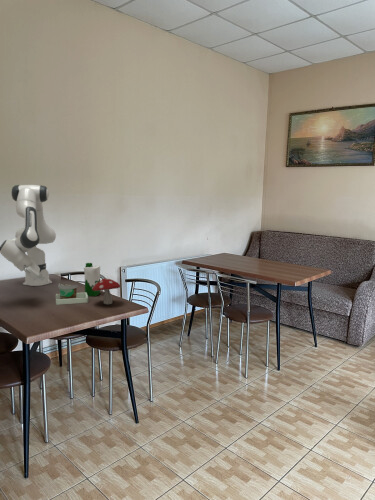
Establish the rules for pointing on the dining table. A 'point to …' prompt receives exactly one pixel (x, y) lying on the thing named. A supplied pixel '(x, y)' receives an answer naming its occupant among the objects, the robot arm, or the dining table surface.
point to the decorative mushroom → (106, 288)
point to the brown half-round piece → (67, 291)
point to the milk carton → (91, 278)
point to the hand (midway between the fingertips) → (43, 279)
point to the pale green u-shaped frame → (72, 299)
